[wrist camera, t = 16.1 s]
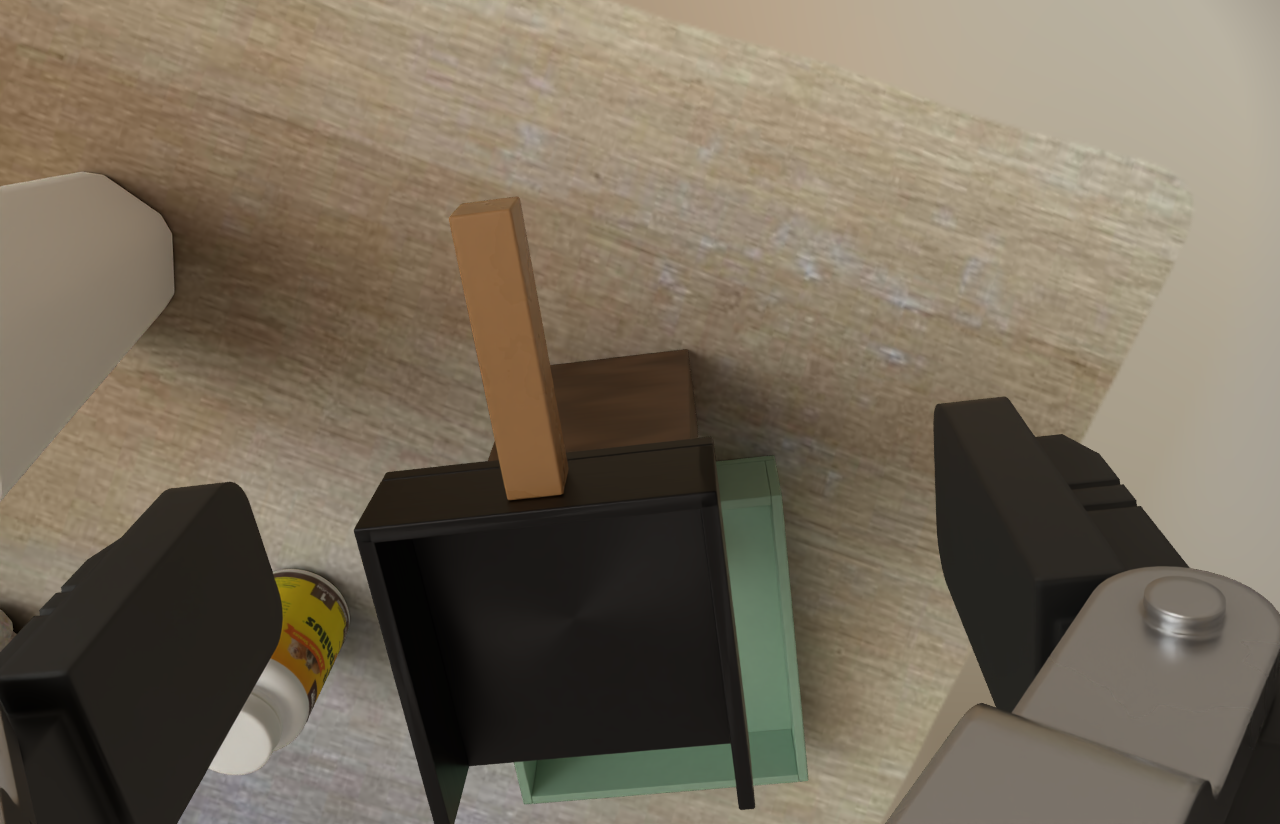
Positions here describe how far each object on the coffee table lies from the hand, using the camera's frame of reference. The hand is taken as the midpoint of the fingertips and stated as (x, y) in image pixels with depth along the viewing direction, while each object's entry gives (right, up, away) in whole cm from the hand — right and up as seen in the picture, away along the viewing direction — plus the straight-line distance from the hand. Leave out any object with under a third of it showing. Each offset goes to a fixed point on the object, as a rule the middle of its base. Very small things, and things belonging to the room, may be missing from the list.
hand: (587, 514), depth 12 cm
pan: (-2, -1, +20) cm, 20 cm away
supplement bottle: (-17, -9, +44) cm, 48 cm away
